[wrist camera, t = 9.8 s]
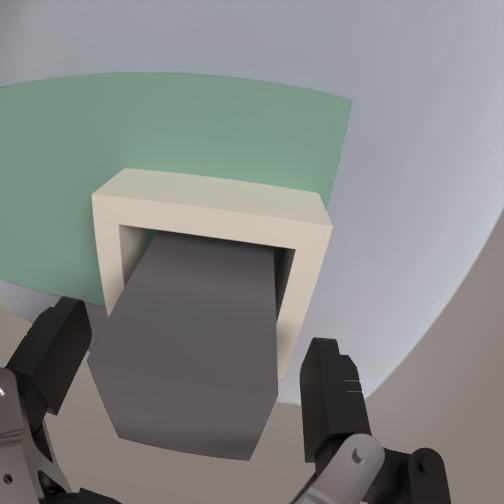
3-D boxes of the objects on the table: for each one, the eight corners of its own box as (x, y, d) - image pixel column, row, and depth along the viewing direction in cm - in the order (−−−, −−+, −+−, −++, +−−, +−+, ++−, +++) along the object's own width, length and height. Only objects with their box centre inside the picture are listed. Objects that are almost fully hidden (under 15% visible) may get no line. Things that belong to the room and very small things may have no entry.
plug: (169, 212, 13) (86, 360, 6) (272, 227, 13) (278, 394, 6) (168, 301, 16) (121, 443, 9) (254, 315, 16) (247, 465, 9)
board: (-20, 92, 10) (-32, 95, 10) (346, 98, 11) (352, 99, 10) (6, 271, 17) (-2, 279, 16) (288, 323, 17) (289, 335, 17)
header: (125, 168, 12) (91, 194, 9) (318, 193, 12) (332, 226, 10) (134, 312, 16) (116, 353, 14) (280, 334, 16) (282, 379, 14)
